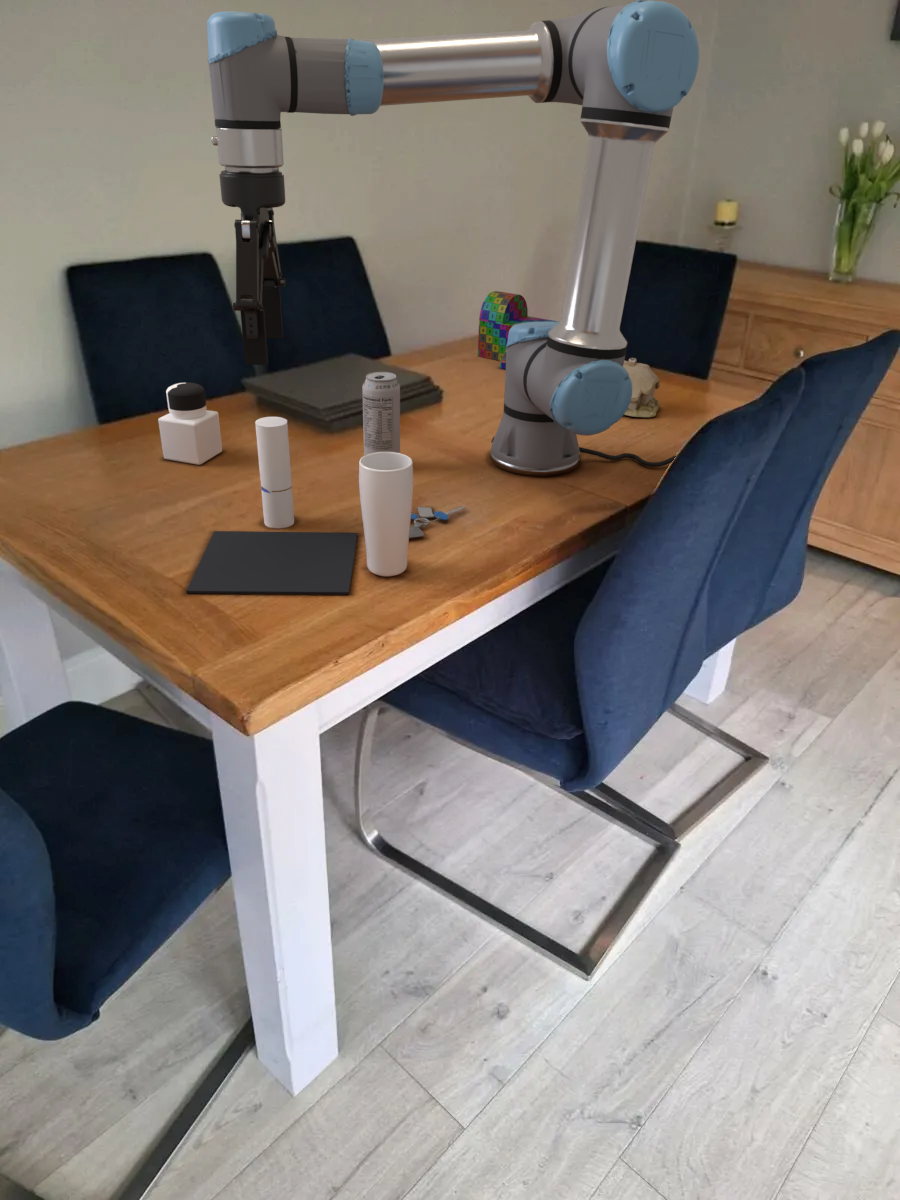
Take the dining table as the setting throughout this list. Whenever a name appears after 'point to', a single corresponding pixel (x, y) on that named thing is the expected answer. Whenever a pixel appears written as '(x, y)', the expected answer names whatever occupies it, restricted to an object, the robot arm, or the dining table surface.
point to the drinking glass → (386, 510)
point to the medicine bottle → (189, 426)
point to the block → (501, 323)
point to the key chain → (425, 513)
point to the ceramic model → (642, 389)
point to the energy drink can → (381, 413)
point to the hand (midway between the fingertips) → (265, 350)
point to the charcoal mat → (276, 563)
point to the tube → (275, 471)
